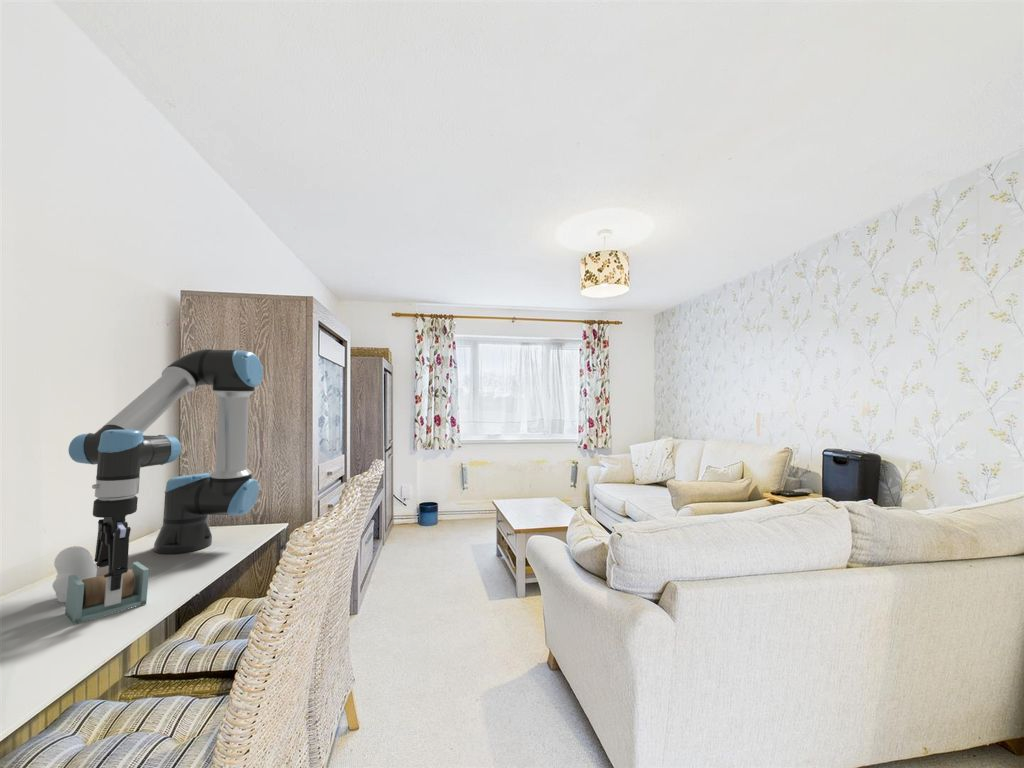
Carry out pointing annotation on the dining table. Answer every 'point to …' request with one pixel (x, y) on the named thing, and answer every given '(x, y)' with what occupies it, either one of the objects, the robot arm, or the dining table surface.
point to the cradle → (92, 612)
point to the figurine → (72, 568)
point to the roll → (96, 588)
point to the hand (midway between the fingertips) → (107, 599)
